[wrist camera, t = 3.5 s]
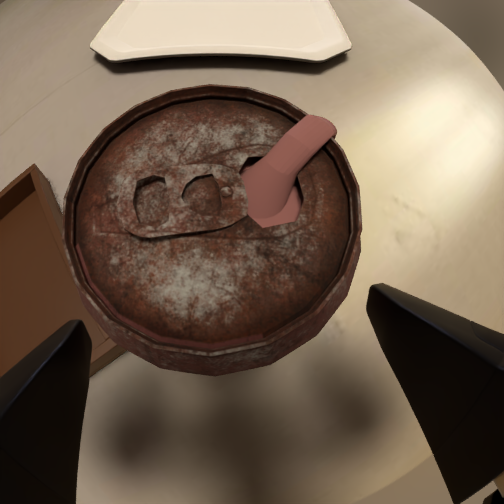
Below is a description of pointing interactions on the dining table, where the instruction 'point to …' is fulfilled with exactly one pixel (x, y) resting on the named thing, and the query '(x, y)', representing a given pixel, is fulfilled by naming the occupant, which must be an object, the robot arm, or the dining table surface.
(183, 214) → the can
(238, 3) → the plate
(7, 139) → the dining table surface
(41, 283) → the tray
